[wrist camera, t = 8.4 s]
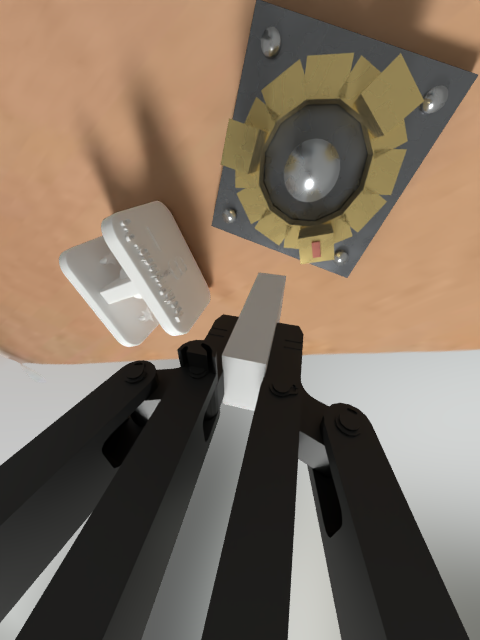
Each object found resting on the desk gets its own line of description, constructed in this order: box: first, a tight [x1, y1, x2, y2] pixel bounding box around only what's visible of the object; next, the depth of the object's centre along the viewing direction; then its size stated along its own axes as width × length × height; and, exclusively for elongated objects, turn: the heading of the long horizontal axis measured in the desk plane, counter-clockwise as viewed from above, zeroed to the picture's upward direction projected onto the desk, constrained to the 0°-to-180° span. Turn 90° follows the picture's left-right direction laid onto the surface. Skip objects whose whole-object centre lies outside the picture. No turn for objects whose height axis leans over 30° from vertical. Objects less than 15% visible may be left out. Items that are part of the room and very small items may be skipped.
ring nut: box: [221, 53, 424, 264], centre depth 21 cm, size 14×14×7 cm
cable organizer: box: [59, 201, 210, 347], centre depth 31 cm, size 15×11×12 cm
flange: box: [212, 0, 478, 278], centre depth 22 cm, size 18×18×7 cm
